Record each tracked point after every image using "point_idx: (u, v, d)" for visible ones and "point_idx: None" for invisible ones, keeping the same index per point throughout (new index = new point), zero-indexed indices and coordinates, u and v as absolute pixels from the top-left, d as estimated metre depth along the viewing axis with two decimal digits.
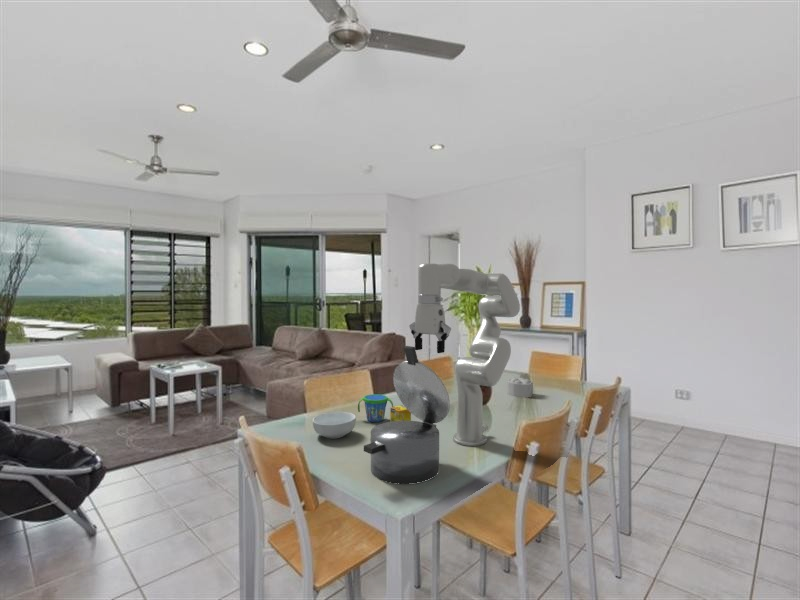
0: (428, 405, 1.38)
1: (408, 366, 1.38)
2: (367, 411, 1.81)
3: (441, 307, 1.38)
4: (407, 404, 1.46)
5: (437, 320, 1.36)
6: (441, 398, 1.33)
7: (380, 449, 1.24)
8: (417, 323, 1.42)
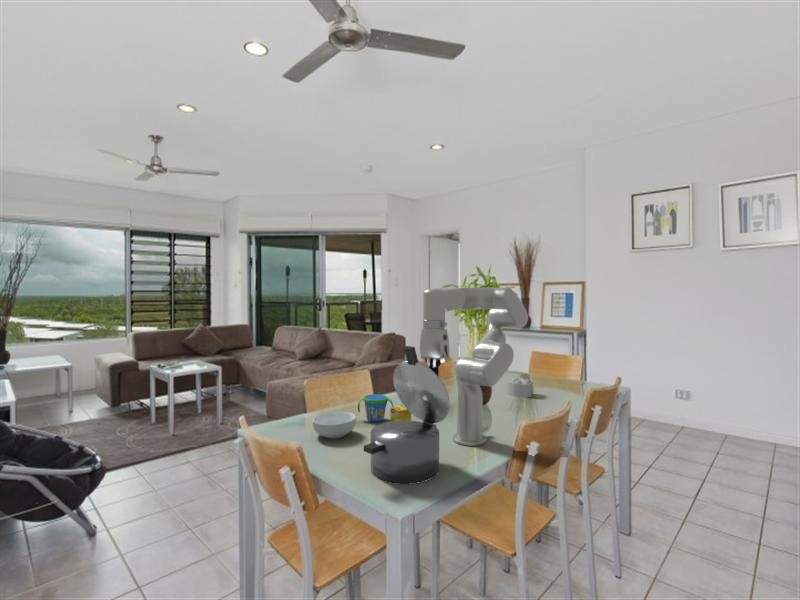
0: (428, 405, 1.38)
1: (408, 366, 1.38)
2: (367, 411, 1.81)
3: (445, 332, 1.42)
4: (407, 404, 1.46)
5: (441, 345, 1.40)
6: (441, 398, 1.33)
7: (380, 449, 1.24)
8: (422, 347, 1.45)
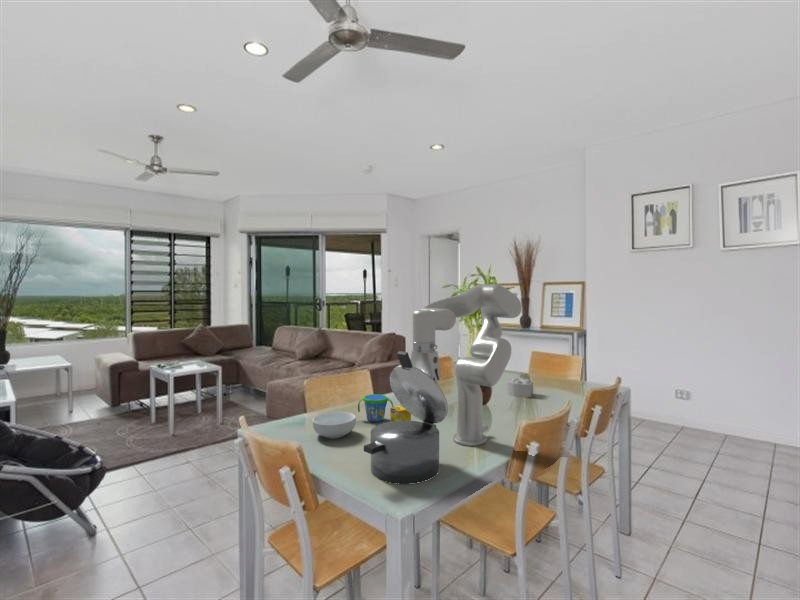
0: (427, 407, 1.38)
1: (403, 371, 1.36)
2: (367, 411, 1.81)
3: (436, 354, 1.38)
4: (406, 405, 1.46)
5: (432, 368, 1.36)
6: (438, 401, 1.32)
7: (380, 449, 1.24)
8: None
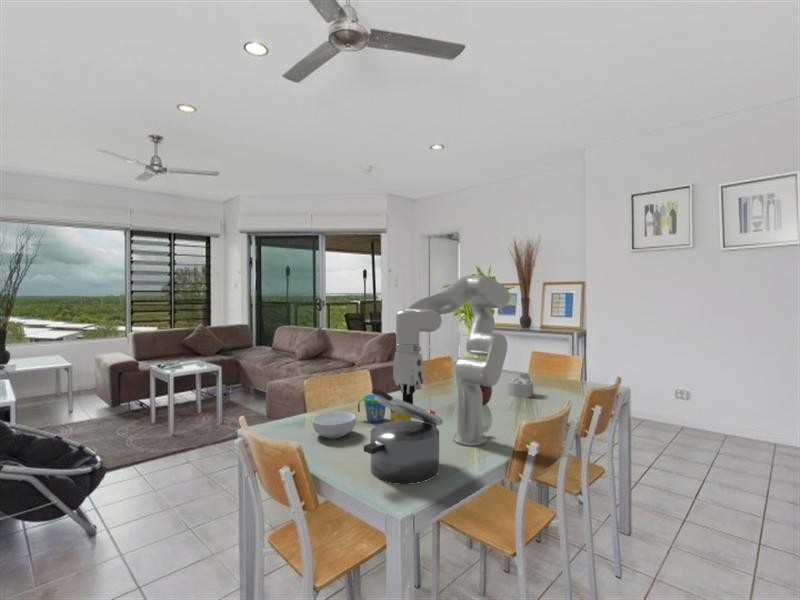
0: (421, 417, 1.36)
1: (385, 400, 1.30)
2: (367, 411, 1.81)
3: (419, 357, 1.32)
4: (402, 413, 1.44)
5: (415, 371, 1.30)
6: (430, 418, 1.29)
7: (380, 449, 1.24)
8: (395, 372, 1.36)
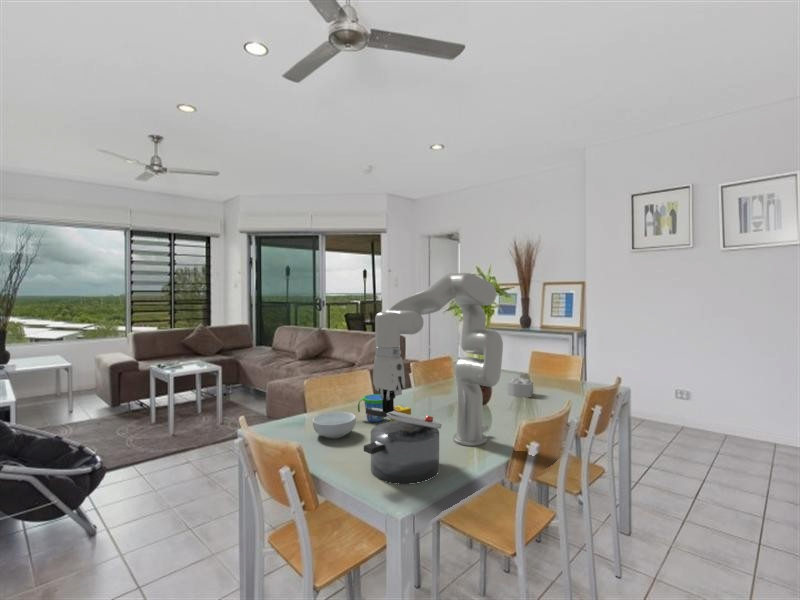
0: None
1: None
2: None
3: (400, 361, 1.26)
4: None
5: (395, 376, 1.24)
6: None
7: (380, 449, 1.24)
8: (375, 377, 1.29)
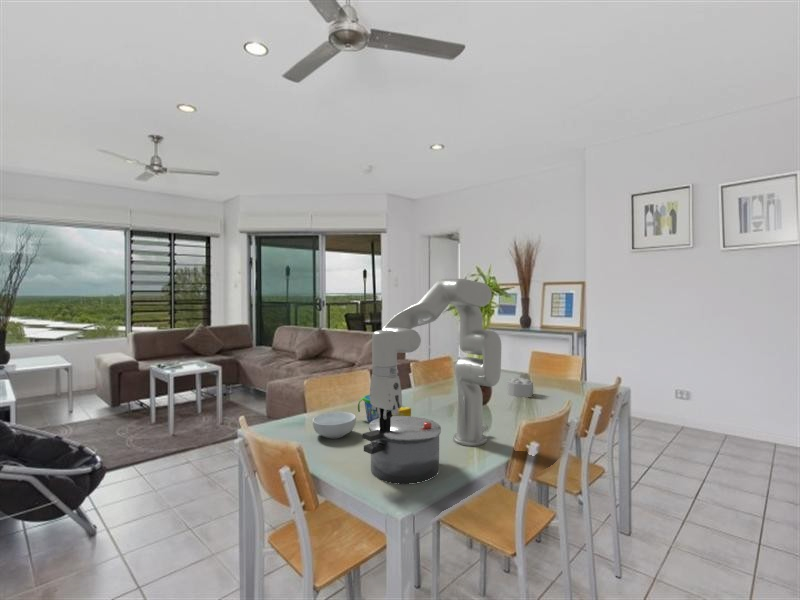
0: None
1: None
2: (367, 411, 1.81)
3: (397, 380, 1.25)
4: None
5: (392, 395, 1.23)
6: None
7: (380, 449, 1.24)
8: (371, 395, 1.28)
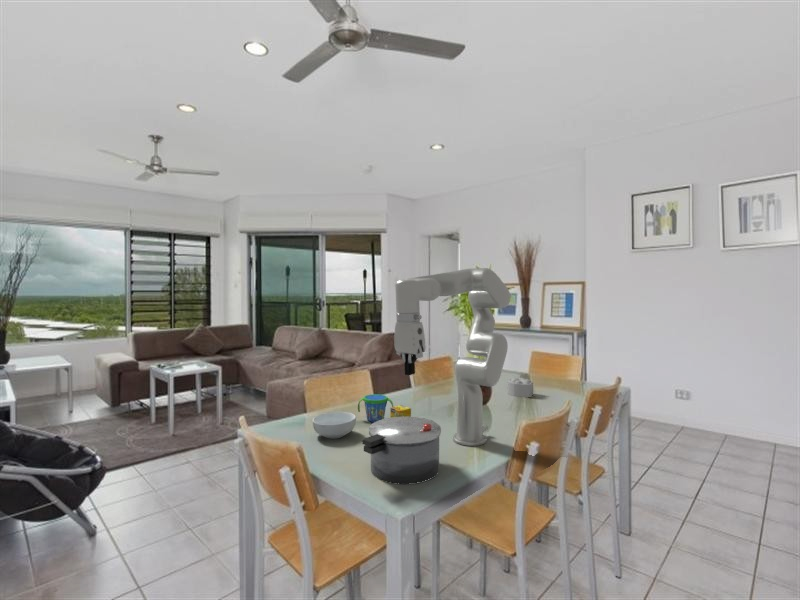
0: None
1: None
2: (367, 411, 1.81)
3: (420, 325, 1.32)
4: None
5: (416, 339, 1.30)
6: None
7: (380, 449, 1.24)
8: (396, 342, 1.36)
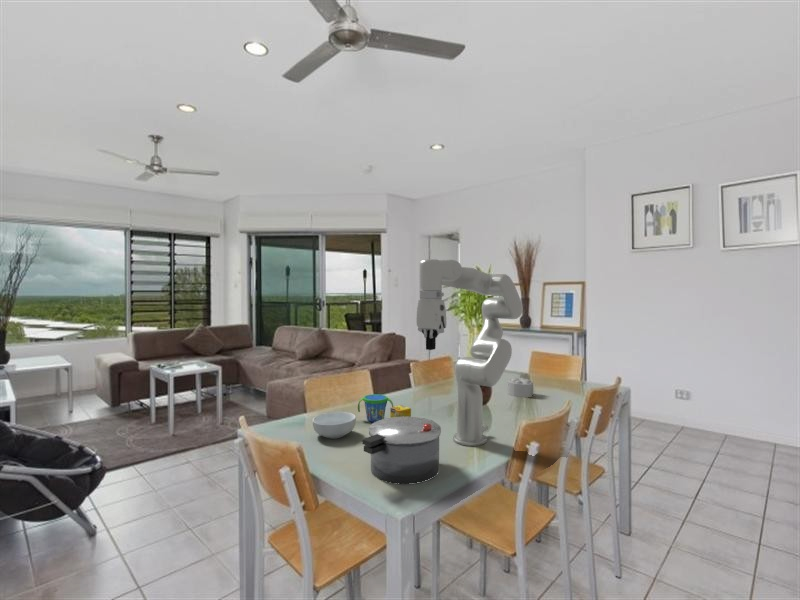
0: None
1: None
2: (367, 411, 1.81)
3: (442, 302, 1.40)
4: None
5: (438, 315, 1.38)
6: None
7: (380, 449, 1.24)
8: (418, 318, 1.44)
